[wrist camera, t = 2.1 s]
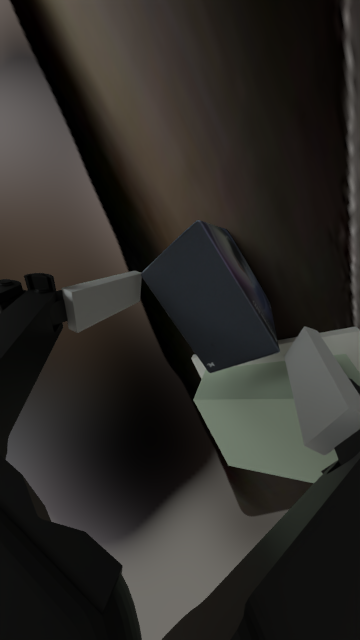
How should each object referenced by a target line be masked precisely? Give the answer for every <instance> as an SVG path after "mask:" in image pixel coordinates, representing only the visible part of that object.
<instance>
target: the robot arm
mask: <svg viewBox="0 0 360 640" xmlns="http://www.w3.org/2000/svg"><path fill="white" fill-rule="evenodd" d="M141 277H142V276H141V273H140V272H137V271H131V272H127V273H123V274H119V275H115V276H110V277H106V278H102V279H98V280H94V281H89V282H85V283H81V284H77V285H73V286H69V287H65V288H62V290H60V291H56V288H55V282H54V277H53V276H52V275H49V274H44V273H34V274H27V275H25V276H24V278H25V281H26V285H27V288H28V290H27V291H26V290H23V289H22V285H21V283H20V282H19V281H15V280H9V279H3V280H0V640H142V638H141V632H140V626H139V622H138V618H137V614H136V610H135V606H134V602H133V600H132V597H131V594H130V591H129V588H128V586H127V584H126V582H125V580H124V578H123V576H122V574H121V573H122V565H121V564H120V563H119V562H118V561H117V560H116V559H115V558H114V557H112V556H111V555H110V554H109V553H108V552H107V551H106V550H105V549H103V548H102V547H101V546H100V545H99V544H98V543H97V542H96V541H95V540H94V539H92V538H91V537H90V536H89V535H88V534H87V533H86V532H84V531H80V530H77V529H74V528H70V527H67V526H64V525H60V524H57V523H53V522H51V520H50V517H49V515H48V512H47V510H46V507H45V505H44V504H43V503H42V501H41V500H40V499H39V497H38V496H37V495H36V493H35V492H34V490H33V489H32V488H31V486H30V485H29V484H28V482H27V481H26V479H25V478H24V477H23V475H22V474H21V473H20V472H18V471H17V470H16V469H15V468H14V467H13V466H12V465H11V464H10V463H8V462H7V461H6V460H5V459H6V454H7V443H8V437H9V434H10V432H11V430H12V428H13V426H14V424H15V422H16V420H17V418H18V416H19V414H20V412H21V410H22V408H23V406H24V404H25V402H26V400H27V398H28V396H29V394H30V392H31V390H32V388H33V386H34V384H35V382H36V380H37V378H38V376H39V374H40V372H41V370H42V368H43V366H44V364H45V362H46V360H47V358H48V356H49V354H50V352H51V350H52V348H53V346H54V344H55V342H56V340H57V338H58V336H59V334H60V333H61V331H62V328H63V324H62V322H65V321H68V327H69V329H71V330H73V331H75V332H77V333H78V332H80V331H82V330H84V329H86V328H88V327H90V326H92V325H94V324H96V323H98V322H100V321H102V320H104V319H106V318H108V317H110V316H112V315H114V314H116V313H118V312H119V311H122V310H124V309H125V308H127V307H129V306H131V305H133V304H135V303H137V302H139V301H140V291H141ZM284 358H285V362H286V367H287V371H288V375H289V380H290V384H291V389H292V393H293V398H294V402H295V406H296V411H297V415H298V420H299V424H300V428H301V433H302V437H303V442H304V446H305V447H307V448H309V449H312V450H314V451H316V452H318V453H320V454H322V455H324V456H325V455H327V454H328V453H330V452H331V451H332V450H334V449H335V452H336V454H337V457H338V460H337V461H336V462H334V463H333V464H331V465H330V466H328V467H327V468H325V469H324V470H322V471H321V472H322V473H323V474H322V475H321V476H320V478H319V479H318V480H317V481H316V482H315V483H314V484H313V485H312V486H311V487H310V488H309V489H308V490H307V491H306V492H305V494H304V495H303V496H302V497H301V498H300V499H299V500H298V501H297V502H296V503H295V504H294V505H293V506H292V507H291V508H290V510H289V511H288V512H287V513H286V514H285V515H284V516H283V517H282V518H281V519H280V520H279V521H278V522H277V523H276V525H275V526H274V527H273V528H272V529H271V530H270V531H269V532H268V533H267V534H266V535H265V536H264V537H263V538H262V539H261V540H260V542H259V543H258V544H257V545H256V546H255V547H254V548H253V549H252V550H251V551H250V552H249V553H248V554H247V555H246V556H245V558H244V559H243V560H242V561H241V562H240V563H239V564H238V565H237V566H236V567H235V568H234V569H233V570H232V571H231V572H230V574H229V575H228V576H227V577H226V578H225V579H224V580H223V581H222V582H221V583H220V584H219V585H218V586H217V587H216V588H215V590H214V591H213V592H212V593H211V594H210V595H209V596H208V597H207V598H206V599H205V600H204V601H203V602H202V603H201V604H199V605H198V606H197V607H196V608H194V609H193V610H191V611H190V612H189V613H188V614H187V615H185V616H184V617H183V618H182V619H181V620H180V621H179V622H178V623H177V624H176V625H175V626H174V627H173V628H172V629H171V630H170V631H169V632H168V633H167V634H166V635H165V636H164V638H163V639H162V640H360V386H359V385H357V384H356V383H355V382H354V381H353V380H352V379H350V378H348V377H347V375H346V374H345V372H344V371H343V369H342V368H341V366H340V365H339V363H338V362H337V360H336V358H335V357H334V355H333V354H332V352H331V351H330V349H329V348H328V346H327V345H326V343H325V342H324V340H323V339H322V337H321V336H320V334H319V333H318V331H317V330H314V329H311V328H308V327H305V326H304V328H303V329H302V331H301V332H300V334H299V335H298V337H297V338H296V339H295V341H294V342H293V344H292V345H291V347H290V348H289V350H288V351H287V353H286V354H285V356H284Z"/></svg>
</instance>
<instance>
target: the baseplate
mask: <svg viewBox="0 0 360 640" xmlns="http://www.w3.org/2000/svg"><path fill="white" fill-rule="evenodd" d="M319 334H320V336H321V337H322V339H323V340H324V342H325V343H326V345H327V346H328V348H329V349H330V351H331V352H332V354H333V355H340V354H346V355H347V356H348V358H349V359H350V360H351V362H352V363H353V364H354V366H355V367H356V369H357V370H358V371H359V373H360V330H359V329H358V328H357V327H350V328H345V329H339V330H333V331H327V332H322V333H319ZM296 338H297V337H293V338H287V339H282V340H278V345H279V349H280V352H279V353H277V354H273V355H270V356H267V357H264V358H260V359H257V360H254V361H250V362H247V363H243V364H240V365H237V366H243V365H252V364H261V363H270V362H278V361H285V358H284V356H285V354H286V353H287V351H288V350H289V348H290V347H291V345H292V344H293V342H294V341H295V339H296ZM191 359H192V361H193V363H194V365H195V367H196V369H197V371H198V373H199V375H200V377H201V379H202V377H203V375H204V373H205V370H206V368H205V367H204V365H203V364H202V362H201V361H200V359H199V358H198V357H197V355H193V356H192V358H191ZM233 367H235V366H233Z"/></svg>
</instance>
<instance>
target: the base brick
mask: <svg viewBox="0 0 360 640" xmlns="http://www.w3.org/2000/svg"><path fill="white" fill-rule="evenodd" d="M334 357H335V358H336V360H337V362H338V363H339V365H340V366H341V368H342V369H343V371H344V372H345V374H346V375H347V377H348V378H350V379H352V380H353V381H354V382H355V383H356V384H357V385H359V386H360V373H359V371H358V370H357V369H356V367H355V366H354V364H353V363H352V362H351V360H350V359H349V358H348V356H347V355H346V354H340V355H334ZM194 402H195V404H196V405H197V407H198V409H199V411H200V413H201V415H202V417H203V418H204V420H205V422H206V424H207V426H208V428H209V430H210V432H211V433H212V435H213V437H214V439H215V441H216V443H217V445H218V446H219V448H220V450H221V452H222V454H223V456H224V458H225V460H226V461H227V463H228V465H229V466H233V467H238V468H243V469H248V470H253V471H258V472H263V473H267V474H272V475H277V476H282V477H287V478H292V479H297V480H301V481H306V482H311V483H315V482H316V481H317V480H318V479H319V478H320V476H321V475H322V474H323V473H322V472H321V471H322V470H324V469H325V468H327V467H328V466H330V465H331V464H333V463H334V462H336V461H337V460H338V457H337V454H336V452H335V449H334V450H332V451H331V452H330V453H328V454H327V455H325V456H324V455H322V454H320V453H318V452H316V451H314V450H312V449H309V448H307V447H305V446H304V442H303V437H302V433H301V428H300V424H299V420H298V415H297V411H296V406H295V402H294V398H293V393H292V389H291V384H290V380H289V375H288V371H287V367H286V362H285V361H278V362H270V363H261V364H252V365H243V366H235V367H230V368H227V369H223V370H220V371H217V372H214V373H209V372H208V371H207V370H205V373H204V375H203V377H202V380H201V382H200V385H199V387H198V390H197V392H196V395H195V397H194Z"/></svg>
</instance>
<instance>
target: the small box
mask: <svg viewBox="0 0 360 640" xmlns="http://www.w3.org/2000/svg"><path fill="white" fill-rule="evenodd" d="M141 276H142V278H143V279H144V280H145V282H146V283H147V285H148V286H149V288H150V289H151V291H152V292H153V293H154V295H155V296H156V298H157V299H158V301H159V302H160V303H161V305H162V306H163V308H164V309H165V311H166V312H167V314H168V315H169V316H170V318H171V319H172V321H173V322H174V324H175V325H176V326H177V328H178V329H179V331H180V332H181V333H182V335H183V336H184V338H185V339H186V341H187V342H188V344H189V345H190V346H191V348H192V349H193V351H194V352H195V354H196V355H197V357H198V358H199V359H200V361H201V362H202V364H203V365H204V367H205V368H206V370H207V371H208V372H209V373H214V372H217V371H220V370H223V369H227V368H230V367H233V366H237V365H240V364H243V363H247V362H250V361H254V360H257V359H260V358H264V357H267V356H270V355H273V354H277V353H279V352H280V349H279V345H278V340H277V335H276V330H275V325H274V320H273V315H272V310H271V305H270V302H269V300H268V298H267V296H266V295H265V293H264V291H263V289H262V288H261V286H260V284H259V282H258V281H257V279H256V277H255V275H254V274H253V272H252V270H251V269H250V267H249V265H248V263H247V262H246V260H245V258H244V257H243V255H242V253H241V252H240V250H239V248H238V247H237V245H236V243H235V242H234V240H233V239H232V237H231V235H230V234H229V232H228V231H227V229H224V228H221V227H217V226H214V225H211V224H208V223H206V222H203V221H200V220H197V221H196V222H195V223H194V224H192V225H191V226H190V227H189V228H188V229H187V230H186V231H185V232H183V233H182V234H181V235H180V236H179V237H178V238H177V239H176V240H175V241H174V242H173V243H172V244H171V245H170V246H169V247H168V248H167V249H166V250H165V251H164V252H163V253H162V254H160V255H159V256H158V257H157V258H156V259H155V260H154V261H153V262H152V263H151V264H150V265H149V266H148V267H147V268H146V269H145V270H144V271H143V272H142V273H141Z"/></svg>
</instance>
